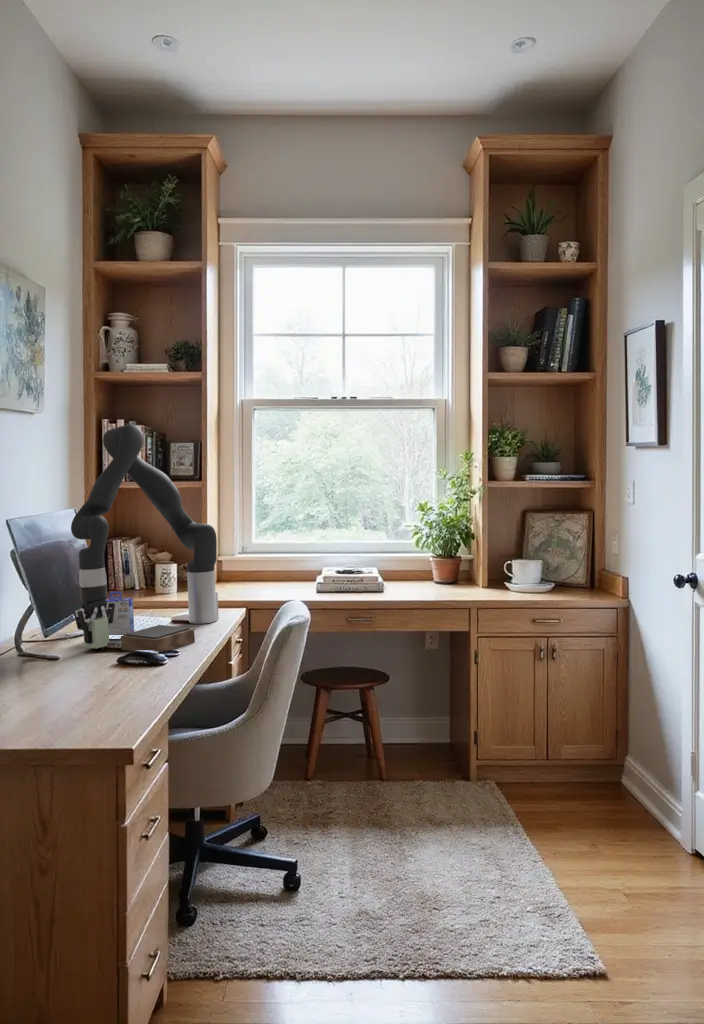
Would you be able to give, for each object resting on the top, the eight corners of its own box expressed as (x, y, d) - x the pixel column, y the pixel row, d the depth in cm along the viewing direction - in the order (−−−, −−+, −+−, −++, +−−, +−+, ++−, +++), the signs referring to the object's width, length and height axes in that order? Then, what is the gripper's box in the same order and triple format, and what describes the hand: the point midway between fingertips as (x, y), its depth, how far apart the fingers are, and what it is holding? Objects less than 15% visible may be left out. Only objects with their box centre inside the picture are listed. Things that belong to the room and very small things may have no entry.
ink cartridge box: (135, 635, 259) (133, 590, 258) (131, 639, 253) (129, 593, 252) (103, 637, 258) (101, 591, 258) (99, 641, 253) (96, 594, 252)
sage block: (97, 643, 244) (95, 616, 244) (109, 644, 242) (107, 617, 241) (84, 647, 240) (82, 619, 239) (96, 648, 237) (94, 621, 237)
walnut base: (159, 638, 254) (159, 623, 253) (194, 642, 247) (194, 627, 246) (121, 649, 240) (120, 634, 240) (157, 654, 233) (156, 638, 233)
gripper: (102, 579, 248) (106, 635, 249) (64, 586, 235) (68, 645, 236) (120, 580, 244) (124, 637, 245) (82, 588, 232) (86, 647, 233)
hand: (96, 641), depth 241 cm, fingers closed on sage block, 5 cm apart
